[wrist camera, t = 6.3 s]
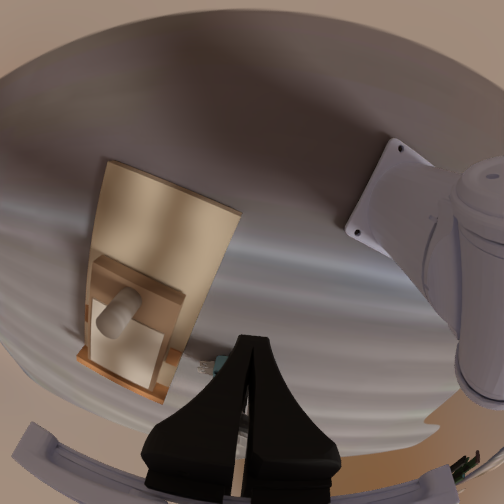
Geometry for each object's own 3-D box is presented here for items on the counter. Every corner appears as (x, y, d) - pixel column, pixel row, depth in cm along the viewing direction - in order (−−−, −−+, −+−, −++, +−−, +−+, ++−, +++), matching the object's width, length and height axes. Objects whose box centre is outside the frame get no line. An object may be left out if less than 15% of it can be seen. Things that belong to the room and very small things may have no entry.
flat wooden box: (242, 213, 19) (237, 225, 17) (169, 385, 28) (162, 404, 25) (114, 160, 18) (92, 164, 16) (88, 344, 27) (76, 360, 24)
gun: (408, 489, 56) (404, 505, 49) (466, 446, 42) (465, 466, 35) (421, 491, 53) (417, 506, 47) (480, 448, 39) (479, 468, 33)
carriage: (186, 295, 21) (163, 339, 16) (156, 381, 26) (140, 420, 21) (102, 254, 20) (63, 286, 15) (94, 350, 25) (71, 383, 20)
